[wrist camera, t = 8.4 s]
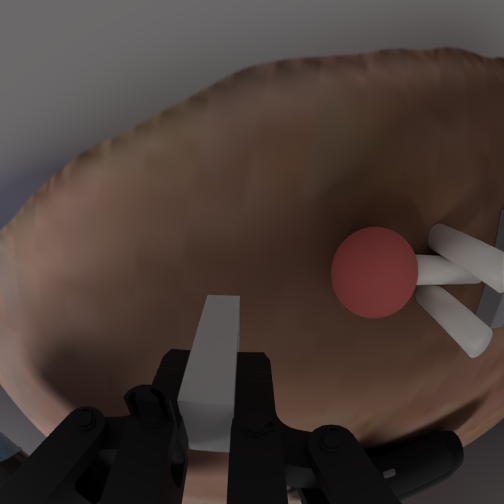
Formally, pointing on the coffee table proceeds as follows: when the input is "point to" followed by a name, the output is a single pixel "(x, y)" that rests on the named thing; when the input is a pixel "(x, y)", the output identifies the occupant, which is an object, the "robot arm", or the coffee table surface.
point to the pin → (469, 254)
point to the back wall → (493, 292)
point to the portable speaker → (420, 463)
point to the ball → (374, 272)
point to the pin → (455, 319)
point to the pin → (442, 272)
